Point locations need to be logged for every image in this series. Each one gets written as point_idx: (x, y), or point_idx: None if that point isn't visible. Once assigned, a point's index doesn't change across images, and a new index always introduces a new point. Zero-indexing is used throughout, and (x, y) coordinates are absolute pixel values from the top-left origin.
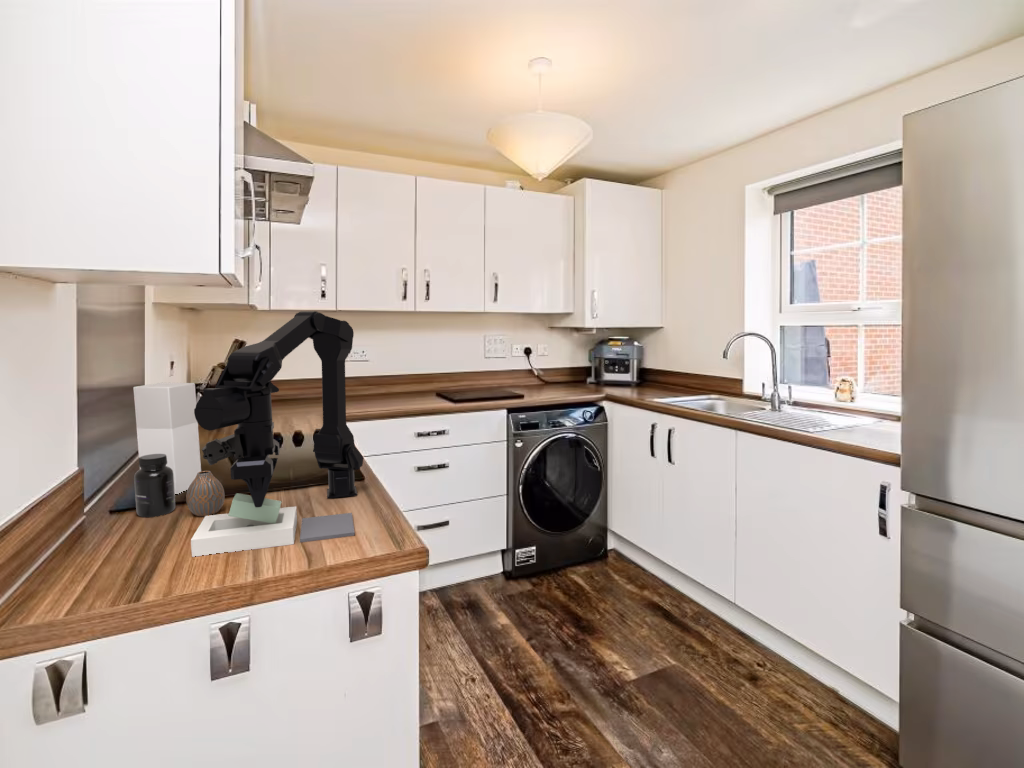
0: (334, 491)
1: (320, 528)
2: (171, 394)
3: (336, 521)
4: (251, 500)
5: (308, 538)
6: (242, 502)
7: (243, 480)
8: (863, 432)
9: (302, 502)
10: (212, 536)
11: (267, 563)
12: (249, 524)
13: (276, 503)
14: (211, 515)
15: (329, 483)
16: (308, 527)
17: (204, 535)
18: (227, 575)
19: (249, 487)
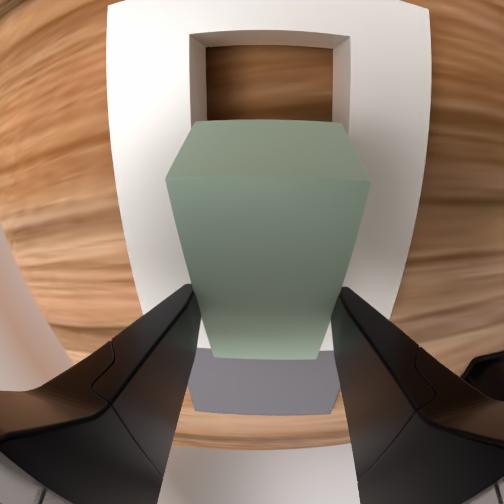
0: (473, 382)
1: (243, 369)
2: None
3: (282, 395)
4: (241, 277)
5: None
6: (182, 233)
7: (4, 392)
8: None
9: (496, 309)
10: (117, 75)
11: (60, 252)
12: None
13: (268, 351)
14: (427, 30)
15: (499, 382)
16: None
17: (139, 37)
18: (14, 172)
19: (82, 368)
